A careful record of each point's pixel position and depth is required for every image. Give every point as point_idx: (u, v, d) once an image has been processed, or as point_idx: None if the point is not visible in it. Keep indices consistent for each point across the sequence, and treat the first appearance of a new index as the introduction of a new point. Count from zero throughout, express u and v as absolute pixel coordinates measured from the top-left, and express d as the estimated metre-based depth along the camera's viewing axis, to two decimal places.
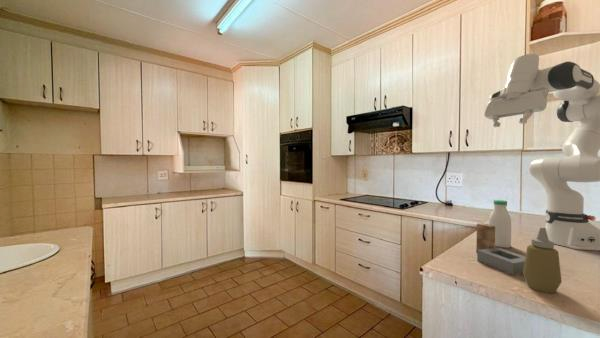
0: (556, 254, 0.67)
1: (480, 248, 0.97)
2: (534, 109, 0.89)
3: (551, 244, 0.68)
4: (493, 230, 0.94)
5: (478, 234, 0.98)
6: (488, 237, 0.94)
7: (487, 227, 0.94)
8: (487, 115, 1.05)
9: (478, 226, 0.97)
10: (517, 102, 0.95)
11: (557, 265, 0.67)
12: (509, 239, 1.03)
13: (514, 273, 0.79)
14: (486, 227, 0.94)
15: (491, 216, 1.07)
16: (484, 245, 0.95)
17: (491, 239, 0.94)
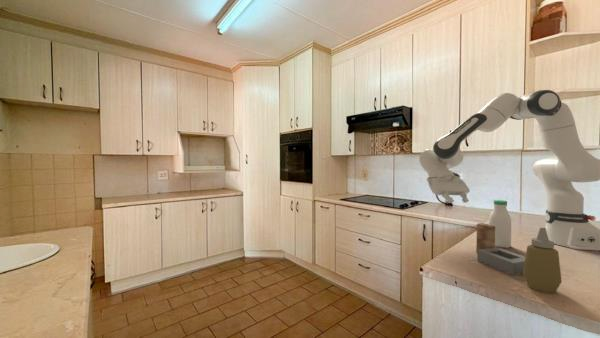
0: (556, 254, 0.67)
1: (480, 248, 0.97)
2: (439, 194, 1.07)
3: (551, 244, 0.68)
4: (493, 230, 0.94)
5: (478, 234, 0.98)
6: (488, 237, 0.94)
7: (487, 227, 0.94)
8: None
9: (478, 226, 0.97)
10: None
11: (558, 265, 0.67)
12: (509, 239, 1.03)
13: (514, 273, 0.79)
14: (486, 227, 0.94)
15: (491, 216, 1.07)
16: (484, 245, 0.95)
17: (491, 239, 0.94)
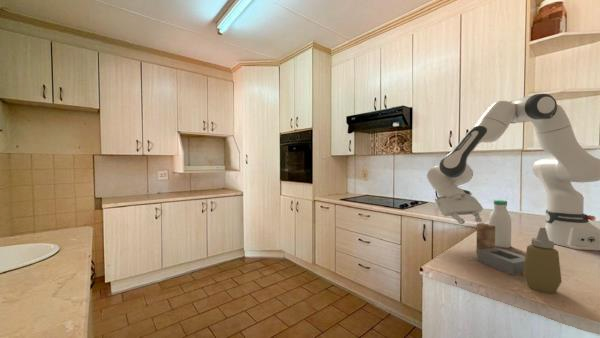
0: (556, 254, 0.67)
1: (480, 248, 0.97)
2: (448, 215, 1.03)
3: (551, 244, 0.68)
4: (493, 230, 0.94)
5: (478, 234, 0.98)
6: (488, 237, 0.94)
7: (487, 227, 0.94)
8: None
9: (478, 226, 0.97)
10: None
11: (557, 265, 0.67)
12: (509, 239, 1.03)
13: (514, 273, 0.79)
14: (486, 227, 0.94)
15: (491, 216, 1.07)
16: (484, 245, 0.95)
17: (491, 239, 0.94)
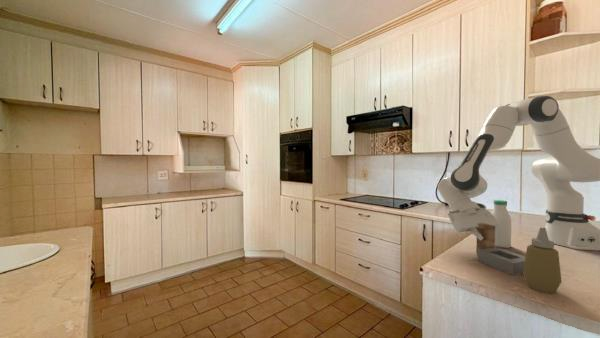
0: (556, 254, 0.67)
1: (480, 248, 0.97)
2: (463, 231, 0.97)
3: (551, 244, 0.68)
4: (493, 230, 0.94)
5: None
6: (488, 237, 0.94)
7: (487, 227, 0.94)
8: None
9: None
10: None
11: (558, 265, 0.67)
12: (509, 239, 1.03)
13: (514, 273, 0.79)
14: (486, 227, 0.94)
15: None
16: (484, 245, 0.95)
17: (491, 239, 0.94)
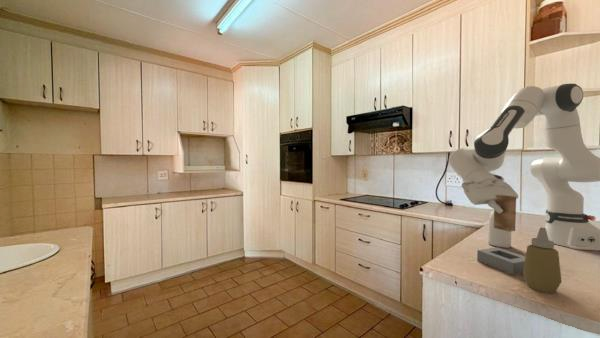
0: (556, 254, 0.67)
1: (498, 222, 0.86)
2: (479, 203, 0.87)
3: (551, 244, 0.68)
4: (514, 201, 0.83)
5: None
6: (508, 209, 0.83)
7: (507, 198, 0.84)
8: None
9: None
10: None
11: (558, 265, 0.67)
12: (509, 239, 1.03)
13: (514, 273, 0.79)
14: (506, 198, 0.84)
15: (491, 216, 1.07)
16: (503, 219, 0.85)
17: (512, 211, 0.83)
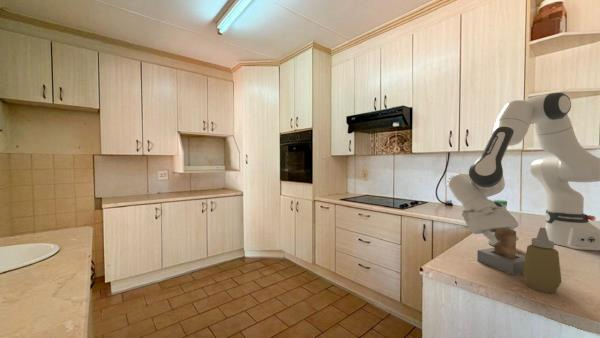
0: (556, 254, 0.67)
1: None
2: (479, 233, 0.87)
3: (551, 244, 0.68)
4: (514, 236, 0.84)
5: None
6: (508, 244, 0.83)
7: (507, 232, 0.84)
8: None
9: (496, 231, 0.87)
10: None
11: (558, 265, 0.67)
12: None
13: (514, 273, 0.79)
14: (506, 232, 0.84)
15: None
16: (503, 253, 0.85)
17: (512, 246, 0.83)
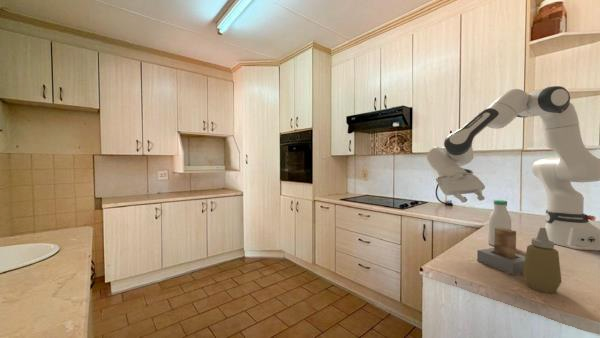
0: (556, 254, 0.67)
1: None
2: (450, 194, 1.01)
3: (551, 244, 0.68)
4: (514, 236, 0.84)
5: (496, 240, 0.87)
6: (508, 244, 0.83)
7: (507, 232, 0.84)
8: None
9: (496, 231, 0.87)
10: None
11: (557, 265, 0.67)
12: None
13: (514, 273, 0.79)
14: (506, 232, 0.84)
15: (491, 216, 1.07)
16: (503, 253, 0.85)
17: (512, 246, 0.83)
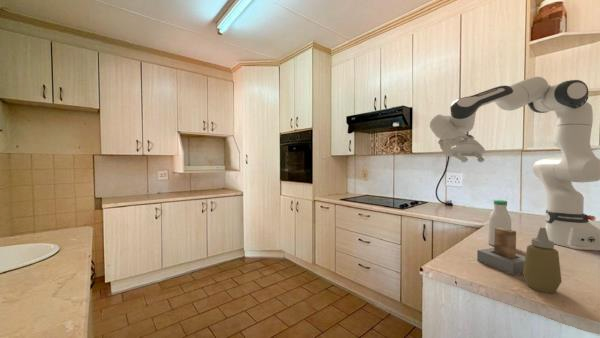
0: (556, 254, 0.67)
1: None
2: (451, 155, 1.05)
3: (551, 244, 0.68)
4: (514, 236, 0.84)
5: (496, 240, 0.87)
6: (508, 244, 0.83)
7: (507, 232, 0.84)
8: None
9: (496, 231, 0.87)
10: None
11: (557, 265, 0.67)
12: None
13: (514, 273, 0.79)
14: (506, 232, 0.84)
15: (491, 216, 1.07)
16: (503, 253, 0.85)
17: (512, 246, 0.83)
